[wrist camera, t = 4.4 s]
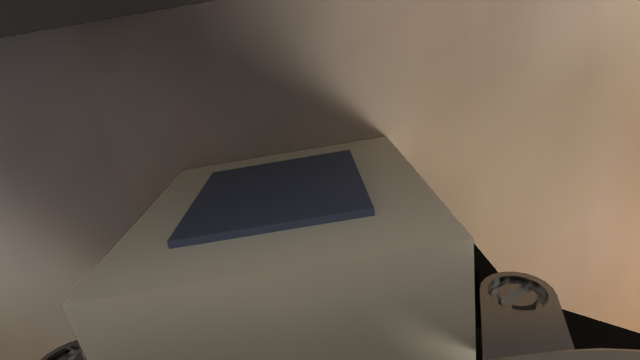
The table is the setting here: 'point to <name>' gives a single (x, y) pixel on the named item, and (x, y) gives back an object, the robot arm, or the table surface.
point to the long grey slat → (71, 12)
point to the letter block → (286, 266)
